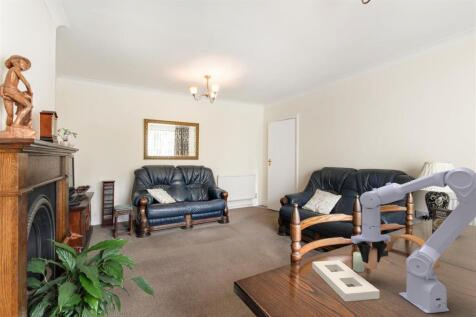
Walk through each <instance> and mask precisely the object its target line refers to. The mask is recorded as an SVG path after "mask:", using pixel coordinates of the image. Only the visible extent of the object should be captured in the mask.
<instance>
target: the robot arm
mask: <svg viewBox="0 0 476 317" xmlns="http://www.w3.org/2000/svg"><path fill="white" fill-rule="evenodd" d="M430 187H439V188H446V187H448V188H449V189H450V190H451V191H452V192H453V193H454V195H455V197H456V200H457V202H458V204H457V206H456V207H455V208H454V209H452V210H453V211H452V212H451V214H450V215H449V216H448V217H447V218H446V219H445V221H444V222H443V223H442V224H441V225H440V226H439V228H438V229H437V230H436V231H435V232H434V233H433V234H432V233H431V235H430V237H429V238H428V239H427V240H425V243H424V245H423V246H422V247H417V248H414V249H413V251H412V252H411V254H410V255H409V256H408V257H406V259H405V266H406V292H399V293H398V294H399V295H400V296H401V297H402V298H403V299H405V300H407V301H408V303H411V304H412V305H413V306H415V307H416V308H418V309H420V310H421V311H422V312H424V313H425V314H433V313H434V314H435V313H443V312H449V311H450V310H449V308H448V305H447V304H448V302H447V301H448V296H447V295H448V292H447V291H448V290H447V288H446V285H444V284H443V283H442V282H441V281H439V280H438V278H437V274H436V273H435V270H434V268H433V267H434V265H435V264H436V261H437V259H438V260H439V258H440V257H441V256H442V254H443V253H444V252H445V251H446V250H447V249H448V248H449V246H450V245H452V244H453V242H454V241H455V240H456V239H457V238H458V237H459V236H460V235H461V234H462V233H463V232H464V230H465V229H466V228H467V227H468V226H469V225H470V224H471V223H472V221H473V220H475V218H476V172H475V171H474V170H473V169H470V168H467V167H457V168H454V169H451V170H450V169H449V170H444V171H443V170H442V171H439V172H434V173H430V174H428V175H424V176H422V177H418V178H416V179H413V180H410V181H408V182H405V183H402V184H399V183H396V182H392V183H391V182H387V183H385V185H384V186H380V187H378V188H377V187H374V188H372V190H370V191H365V192H364V193H362V194H361V195H360V197H359V202H360V204H361V205H362V206H361V208H362V210H361V228H362V229H361V233H360V234H358V235H354V236H353V235H352V236H350V242H351V243H353V244H355V245H356V246H357V248H358V252H360V253H361V257H362V261H363V262H365V263H368V259H369V251H370V248H371V247H373V248H376V249H377V263H380V261H381V258H382V257H381V255H382V253H383V251H384V250H385V248H386V247H387V244H386V242H387V241H388V242H391V238H392V236H390V235H388V234H381V205H386V204H390V203H393V202H396V201H401V200H404V198H405V196H406V194H408V193H412V192H416V191H419V190H424V189H425V188H430ZM368 243H371V245H369V244H368ZM432 268H433V269H432Z"/></svg>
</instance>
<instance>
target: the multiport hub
mask: <svg viewBox="0 0 476 317" xmlns="http://www.w3.org/2000/svg"><path fill="white" fill-rule="evenodd" d="M388 256H389V251H386V250H384V251H383V253H382V255H381V258H382V257H383V258H384V257H388Z"/></svg>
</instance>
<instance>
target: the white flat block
mask: <svg viewBox="0 0 476 317" xmlns="http://www.w3.org/2000/svg"><path fill="white" fill-rule="evenodd" d="M311 265H312V266H311V268H312V269H313V270H314V271H315V272H316V273H317V274H318V276H319V277H321V278H322V279H323V281H325V282H326V284H327V285H328V286H329V287H330V288H331V289H332V290H333V291H334V292H335V293H336V294H337V295H338V296H339V297H340V298H341V299H342V300H343V301H344V302H346V303H347V302H357V301H367V300H377V299H378V300H379V299H380V290H379V289H378V288H377V287H375V286H374V285H373V284H371V283H370V282H369V281H367V280H366V279H365V278H364V277H362V276H361V275H359V274H358V273H357V272H356V271H354V270H353V268H352V269H351V267H349V266H348V265H346V264H345V263H344V262H342V261H341V260H340V259H337V260H335V259H334V260H324V261H322V260H321V261H319V260H318V261H312V264H311ZM348 285H353V286H348Z"/></svg>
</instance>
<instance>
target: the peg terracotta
mask: <svg viewBox="0 0 476 317" xmlns="http://www.w3.org/2000/svg"><path fill="white" fill-rule="evenodd" d="M364 268H367V269H369V270H377V269H378V262H377V249H376V248H373V247H372V246H371V248H370V251H369V259H368V263H365V262H364Z"/></svg>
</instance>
